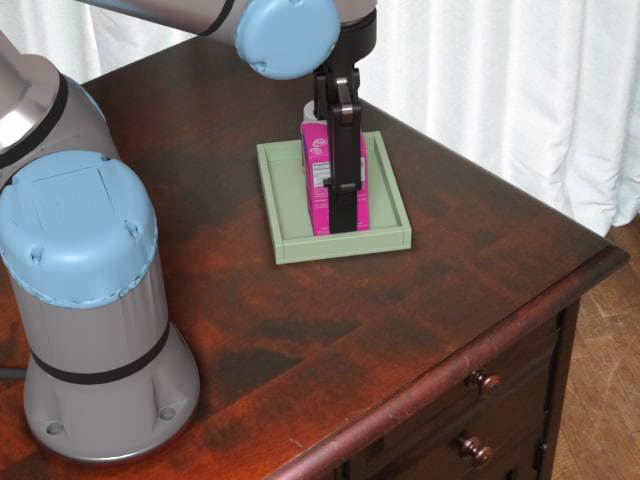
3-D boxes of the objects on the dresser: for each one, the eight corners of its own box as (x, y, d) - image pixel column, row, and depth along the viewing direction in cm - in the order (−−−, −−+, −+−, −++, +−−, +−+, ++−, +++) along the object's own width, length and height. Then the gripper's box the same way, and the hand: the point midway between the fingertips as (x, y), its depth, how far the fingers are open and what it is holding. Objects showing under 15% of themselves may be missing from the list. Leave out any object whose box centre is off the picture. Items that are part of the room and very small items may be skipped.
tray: (276, 264, 114) (275, 246, 112) (257, 162, 126) (256, 144, 124) (411, 248, 115) (411, 229, 113) (379, 148, 127) (379, 130, 126)
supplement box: (305, 210, 119) (300, 120, 111) (361, 203, 119) (360, 113, 112) (312, 247, 115) (308, 156, 107) (371, 240, 115) (370, 149, 108)
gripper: (277, -41, 107) (288, 156, 122) (306, 70, 93) (314, 277, 108) (357, -49, 107) (358, 148, 123) (397, 60, 94) (392, 267, 109)
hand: (337, 208), depth 116 cm, fingers closed on supplement box, 6 cm apart
